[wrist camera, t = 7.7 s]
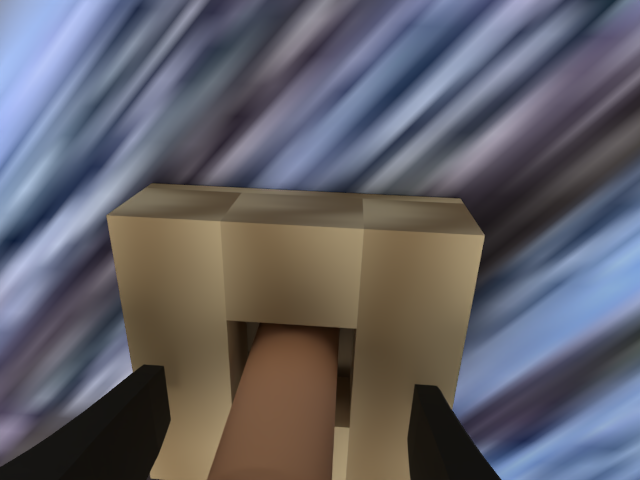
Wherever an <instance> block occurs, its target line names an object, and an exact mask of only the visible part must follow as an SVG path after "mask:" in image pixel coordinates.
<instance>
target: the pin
mask: <svg viewBox="0 0 640 480" xmlns="http://www.w3.org/2000/svg"><path fill="white" fill-rule="evenodd" d="M339 330H340V328H338V327H323V326H307V325H292V324H277V323H261V322H260V323H259V326H258V329H257V332H256V335H255V338H254V341H253V344H252V347H251V350H250V353H249V356H248V359H247V362H246V365H245V368H244V371H243V374H242V377H241V380H240V383H239V386H238V389H237V392H236V395H235V398H234V401H233V403H232V406H231V409H230V412H229V415H228V418H227V421H226V424H225V427H224V430H223V433H222V436H221V439H220V442H219V445H218V448H217V451H216V454H215V457H214V460H213V463H212V466H211V469H210V472H209V475H208V478H207V480H332V468H333V448H334V429H335V409H336V389H337V370H338V350H339Z"/></svg>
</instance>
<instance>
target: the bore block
mask: <svg viewBox="0 0 640 480" xmlns="http://www.w3.org/2000/svg"><path fill="white" fill-rule="evenodd" d="M107 221H108V227H109V233H110V239H111V245H112V251H113V257H114V263H115V269H116V275H117V281H118V287H119V292H120V298H121V304H122V310H123V316H124V322H125V328H126V334H127V340H128V346H129V352H130V358H131V364H132V369H133V372H134V371H136V370H137V369H138V368H139V367H141V366H142V365H143V364H146V365H159V366H164V370H165V377H166V385H167V393H168V400H169V408H170V415H171V422H170V425H169V427H168V430H167V433H166V436H165V439H164V442H163V444H162V447H161V450H160V452H159V455H158V457H157V459H156V461H155V463H154V465H153V467H152V469H151V471H150V476H151V478H152V479H164V480H207V478H208V475H209V472H210V469H211V466H212V463H213V460H214V457H215V454H216V451H217V448H218V445H219V442H220V439H221V436H222V433H223V430H224V427H225V424H226V421H227V418H228V415H229V412H230V409H231V406H232V403H233V401H234V398H235V395H236V392H237V389H238V386H239V383H240V380H241V377H242V374H243V371H244V368H245V365H246V362H247V359H248V356H249V353H250V350H251V347H252V344H253V341H254V338H255V335H256V332H257V329H258V326H259V323H260V322H261V323H277V324H292V325H307V326H323V327H338V328H340V330H339V350H338V370H337V389H336V409H335V429H334V448H333V468H332V480H411V479H410V472H409V459H408V444H407V436H408V429H409V422H410V414H411V407H412V400H413V393H414V386H415V384H421V385H435V386H438V388H439V389H440V390H441V392H442V394H443V395H444V397H445V399H446V401H447V402H448V404H449V406H450V407H451V409H452V407H453V402H454V397H455V391H456V386H457V381H458V375H459V370H460V365H461V359H462V354H463V349H464V343H465V338H466V333H467V328H468V322H469V317H470V312H471V306H472V301H473V296H474V290H475V285H476V280H477V274H478V269H479V264H480V258H481V253H482V248H483V243H484V237H485V235H484V234H483V232H482V230H481V229H480V227H479V226H478V224H477V223H476V221H475V220H474V218H473V217H472V215H471V214H470V212H469V211H468V209H467V208H466V206H465V205H464V203H463V202H462V200H461V199H460V198H439V197H419V196H399V195H378V194H358V193H338V192H317V191H297V190H277V189H257V188H236V187H216V186H196V185H175V184H155V183H152V184H150V185H149V186H147V187H146V188H144V189H143V190H142V191H140V192H139V193H137V194H136V195H135V196H133V197H132V198H130V199H129V200H127V201H126V202H125V203H123V204H122V205H120V206H119V207H118V208H116V209H115V210H113V211H112V212H110V213H109V214H108V215H107Z"/></svg>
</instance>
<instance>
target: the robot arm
mask: <svg viewBox="0 0 640 480" xmlns="http://www.w3.org/2000/svg"><path fill="white" fill-rule="evenodd" d="M170 422H171V415H170V408H169V400H168V393H167V385H166V377H165V370H164V366H159V365H146V364H143V365H142V366H141V367H139V368H138V369H137V370H136V371H134V372H133V373H132V374H131V375H129V376H128V377H127V378H126V379H124V380H123V381H122V382H121V383H119V384H118V385H117V386H116V387H114V388H113V389H112V390H111V391H109V392H108V393H107V394H106V395H104V396H103V397H102V398H101V399H99V400H98V401H97V402H95V403H94V404H93V405H92V406H90V407H89V408H88V409H86V410H85V411H84V412H83V413H81V414H80V415H78V416H77V417H76V418H74V419H73V420H71V421H70V422H69V423H67V424H66V425H65V426H63V427H62V428H60V429H59V430H58V431H56V432H55V433H53V434H52V435H51V436H49V437H48V438H46V439H45V440H43V441H42V442H40V443H39V444H37V445H36V446H34V447H33V448H31V449H29V450H28V451H26V452H25V453H23V454H21V455H20V456H18V457H16V458H15V459H13V460H12V461H10V462H8V463H7V464H5V465H3V466H1V467H0V480H146V479H147V477H148V475H149V473H150V471H151V469H152V467H153V465H154V463H155V461H156V459H157V457H158V455H159V452H160V450H161V447H162V444H163V442H164V439H165V436H166V433H167V430H168V427H169V425H170ZM407 444H408V459H409V472H410V479H411V480H501V479H500V477H499V476H498V475H497V474H496V472H495V471H494V470H493V468H492V467H491V466H490V465H489V463H488V462H487V461H486V459H485V458H484V457H483V455H482V454H481V452H480V451H479V450H478V448H477V447H476V445H475V444H474V442H473V441H472V440H471V438H470V437H469V435H468V434H467V432H466V431H465V429H464V428H463V426H462V425H461V423H460V422H459V420H458V419H457V417H456V415H455V414H454V412H453V411H452V409H451V407H450V406H449V404H448V402H447V401H446V399H445V397H444V395H443V394H442V392H441V390H440V389H439V388H438V386H435V385H421V384H415V386H414V393H413V400H412V407H411V414H410V422H409V429H408V436H407Z"/></svg>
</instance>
